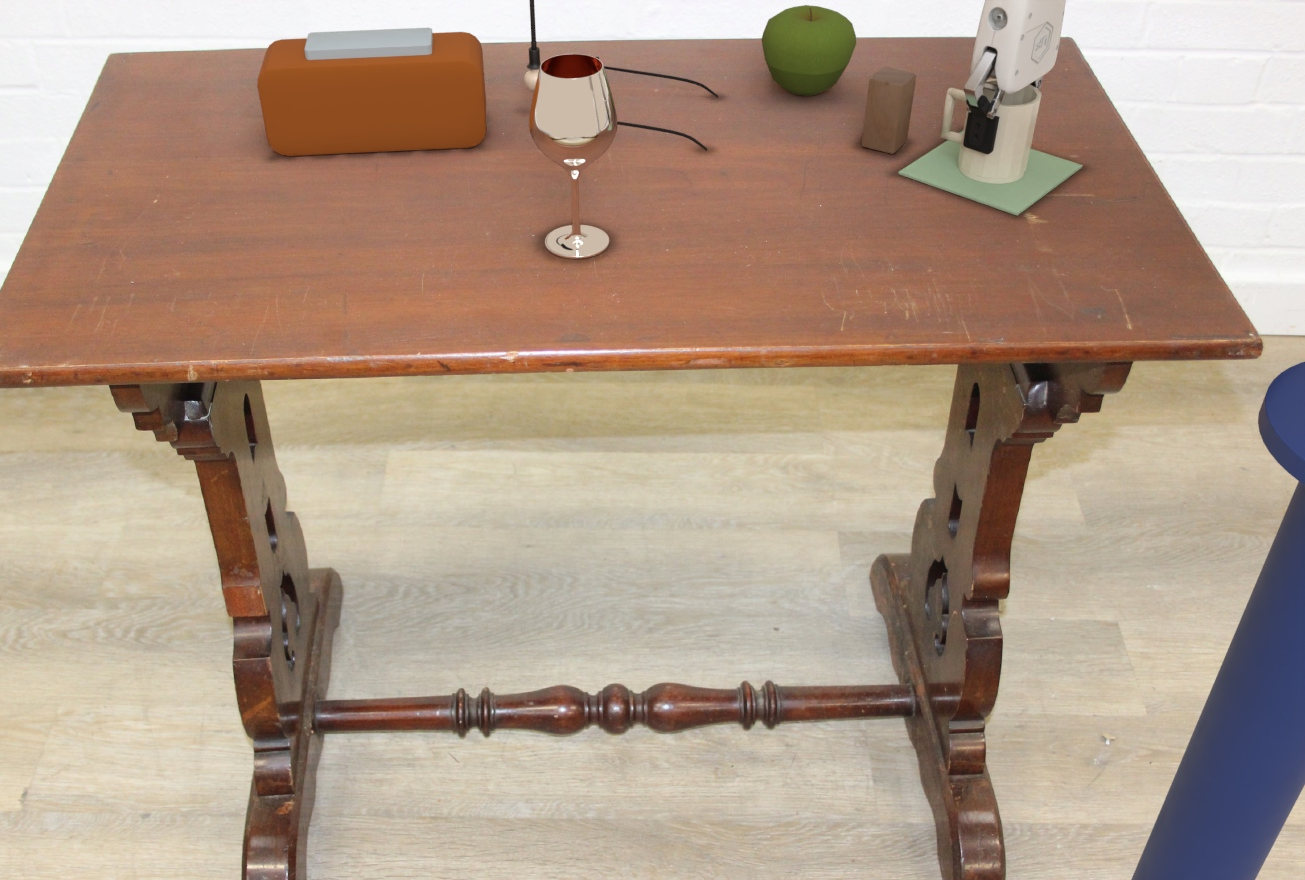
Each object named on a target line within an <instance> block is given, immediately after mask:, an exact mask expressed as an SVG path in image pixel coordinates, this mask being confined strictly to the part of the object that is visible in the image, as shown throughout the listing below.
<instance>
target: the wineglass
mask: <svg viewBox="0 0 1305 880" xmlns="http://www.w3.org/2000/svg"><path fill="white" fill-rule="evenodd" d="M595 57H596V56H592V55H588V54H584V53H563V54H558V55H554V56H551V57H548V58H546V59H544V60H543V61H541V62H540V63H541V65H540V69H539V73H538V77H537V81H536V86H535V90H534V91H533V94H532V95H533V96H532V100H531V105H530V110H529V119H528V127H529V128H528V129H529V133H530V136H531V139H532V141H533V143H534V145H535V146H536V147H537V149H538V150H539V151H540V152H541V153H542V154H543V155H544V156H545V157H546V158H547V159H548V160H550V161H551V162H553V163H555V164H556V165H557V166H559V167H560V168H562V169H563V170H564V171H565V172H566V173H567V175H568V176H569V178H570V197H571V224H569V225H564V226H561V227H557V228H555V229H553V230H552V231H550V232H549V233H548V234H547V235H546V236H545V239H544V246H545V248H546V250H547V251H548V252H549V253H551V254H552V255H555V256H557V257H560V258H564V259H571V260H572V259H573V260H581V259H587V258H592V257H595V256H598V255H600V254H601V253H603V252H604V251H606V250H607V248H608V247H609V245H610V237H609V235H608V233H606V231H604V230H602V229H601V228H598V227H596V226H594V225H593V226H592V225H587V224H581V210H580V207H581V206H580V202H581V201H580V177H581V175H582V173H583V171H584V170H586V169H587V168H588V167H589V166H590V165H591V164H593V163H594V162H595V161H597V160H599V158H601V157H602V156H603V155H604V154H605V153H606V152H607V151H608V150H609V148H610V147H611V145H612V143H613V142H614V140H615V137H616V135H617V131H618V125H617V121H618V116H617V110H616V104H615V101H614V98H613V94H612V90H611V87H610V83H609V79H608V75H607V72H606V69H604V66H605V65H604V63H603V61H602V60H600V58H599V59H598V58H595Z"/></svg>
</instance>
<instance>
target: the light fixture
mask: <svg viewBox="0 0 1305 880" xmlns="http://www.w3.org/2000/svg"><path fill="white" fill-rule="evenodd" d="M535 11H536V9H535V0H529V20H530V39H531V40H530V47H529V48H528V64H527V65H526V68H527V69H528V70H527V71H526V73H525V74H524V76H523V84H524V86H525V88H526V90H529V91H530V92H534V90H535V86H536V81H537V77H538V73H539V69H540V65H541V63H542V62H541V52H540V51H541V50H540V47H538V44H537V43H538V42H537V35H536V34H537V33H536V12H535Z"/></svg>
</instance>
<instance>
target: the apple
mask: <svg viewBox="0 0 1305 880" xmlns="http://www.w3.org/2000/svg"><path fill="white" fill-rule="evenodd" d="M856 45H857V35H856V32H855V28H854V25H853V23H852V22H851V21H850V19H848V18H847V17H846V16H844V15H843V14H842V13H840V12H838V11H837V10H834V9H830V8H826V7H822V6H819V5H809V4H808V5H807V4H805V5H797V6H792V7H789V8H785V9H783V10H782V11H781V12H779V13H777V14H775V15H773V16H772V17H770V18H769V19H768V20H767V23H766V24H765V27H764V30H763V32H762V36H761V46H762V51H763V58H764V61H765V63H766V66H767V69H768V71H769V73H770V76H771V79H772V81H773V82H775V83H776V84H777V85H778V86H780V87H781V88H783V89H784V90H786V91H787V92H788V93H790V94H793V95H796V96H805V97H810V96H811V97H812V96H816V95H818V94H820V93H823V92H825V91H827V90H829V89H831V88H832V87H834V86H835V85H836V84H837V83H838V81H839V80H840V78H841V76H842V75H843V74H844V72H845V70H846V68H847V67H848V66H849V64H850V61H851V58H852V56H853V54H854V51H855V48H856Z"/></svg>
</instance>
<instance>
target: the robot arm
mask: <svg viewBox="0 0 1305 880" xmlns="http://www.w3.org/2000/svg"><path fill="white" fill-rule="evenodd" d="M1066 1H1067V0H984V4H983V8H982V10H981V15H980V18H979V23H978V27H977V31H976V36H975V41H974V46H973V50H972V56H971V62H970V63H971V64H970V72H969V77H968V80H967V81H966V83H965V84H964V88H963V91H964V93H965V96H966V98H967V100H966V102H965V103H966V105H967V106H966V113H967V112H968V117H967V123H966V129H965V135H964V140H963V145H964V147H966V148H969V149H972V150H975V151H978V152H981V153H984V154H990V153H992V152H993V149H994V144H995V139H996V133H997V128H998V123H999V117H998V116H996V113H997V111H998V108H999V106H1000V103H1001V101H1002V99H1003V96H1004V94H1005V93H1007V94H1013V93H1016V92H1017V91H1019V90H1021V89H1023V88H1024V87H1026V86H1027V85H1029V84H1030V85H1032V86H1034V87H1036V88H1037V89H1038V90H1040V89H1041V87H1042V84H1043V76H1045V75H1046V74H1048V73H1049V72H1050V71H1051V70H1052V69H1053V68H1054V67H1055V65H1056V63H1057V57H1058V53H1059V47H1060V42H1061V36H1062V31H1063V30H1062V29H1063V23H1064V18H1065V17H1064V16H1065V10H1066V3H1067V2H1066ZM988 79H997V83H998V85H995V84H992V83H988V82H986V81H987V80H988ZM984 89H987V90H990V91H993V92H995V93H994V96H993V98H992V101H991V103H990V102H989V100H988V98H987V97H986V96H984V95H983V93H984V92H983V91H984Z"/></svg>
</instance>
